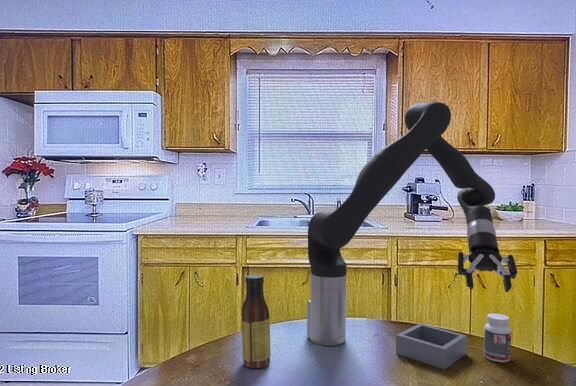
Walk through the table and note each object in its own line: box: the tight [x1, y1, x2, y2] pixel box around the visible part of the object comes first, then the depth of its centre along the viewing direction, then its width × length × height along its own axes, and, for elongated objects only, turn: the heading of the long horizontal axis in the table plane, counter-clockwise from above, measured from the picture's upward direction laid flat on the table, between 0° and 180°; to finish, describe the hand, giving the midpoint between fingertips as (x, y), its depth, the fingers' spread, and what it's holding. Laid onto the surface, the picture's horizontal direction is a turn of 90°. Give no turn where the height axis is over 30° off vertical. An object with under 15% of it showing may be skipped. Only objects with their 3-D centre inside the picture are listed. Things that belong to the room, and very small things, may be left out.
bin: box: [395, 322, 468, 370], centre depth 102 cm, size 12×12×4 cm
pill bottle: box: [483, 312, 512, 363], centre depth 100 cm, size 6×6×10 cm
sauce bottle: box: [241, 273, 272, 370], centre depth 95 cm, size 7×6×20 cm
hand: (489, 289), depth 110 cm, fingers open, 8 cm apart
